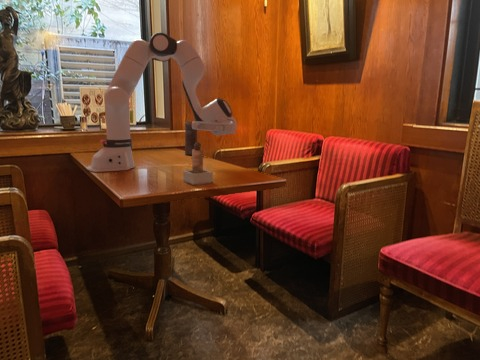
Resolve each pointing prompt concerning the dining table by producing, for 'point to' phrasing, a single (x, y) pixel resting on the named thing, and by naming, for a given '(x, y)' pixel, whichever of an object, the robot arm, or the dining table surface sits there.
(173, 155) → the dining table surface
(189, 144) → the candle
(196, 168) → the pepper mill
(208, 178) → the box
